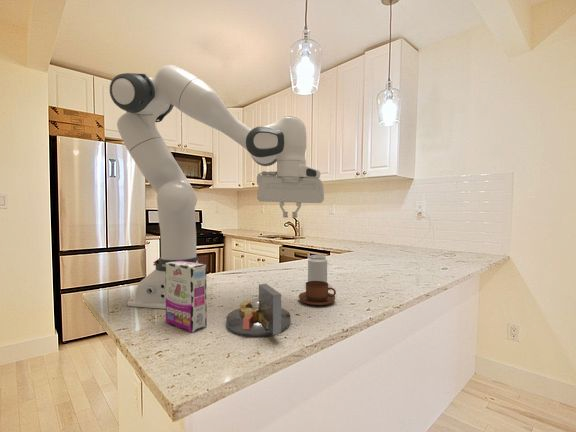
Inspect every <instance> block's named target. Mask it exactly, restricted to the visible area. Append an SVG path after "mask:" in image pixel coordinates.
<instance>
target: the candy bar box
mask: <svg viewBox="0 0 576 432" xmlns="http://www.w3.org/2000/svg"><path fill="white" fill-rule="evenodd" d="M165 264H166V309H165V324H166V325H170V326H172V327H176V328H179V329H181V330H184V331H187V332H189V333H195V332H198V331H199V330H200V331H201V330H202V329H204V328H206V327H207V325H208V324H207V322H208V321H207V318H208V317H207V315H208V314H207V313H208V312H207V264H205V263H200V262H198V263H193V262H186V261H174V262H168V263H165Z"/></svg>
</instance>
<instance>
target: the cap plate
mask: <svg viewBox="0 0 576 432" xmlns="http://www.w3.org/2000/svg"><path fill="white" fill-rule="evenodd" d="M251 302H252V308H254V309H259V298H255V299H253V300H251ZM239 308H240V307H237V308H235V309H233V310H232V311H230V312H229V313H227V315H226V317H225V318H226V322H225V323H226V325H225V326H226V329H227V330H228V331H229V332H230V333H232V334H234V335H237V336H241V337H245V338H264V337H265V338H266V337H271V336H275V335H276V336H277V334H274V335H273V334H272V333H271V332H270V331H269V330H268V329H266V328H265V326H264V325H263V324H262V323H261V322H259V321H257V322H254V315H251V314H247V315H246V316H245V317H244V318H243V320H242V318H241V317H240V316H239ZM290 326H291V313H290V312H289V311H288V310H286V309H284V308H282V307H281V333H283V332H285V331H287V330H288V329H289V328H290Z"/></svg>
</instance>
